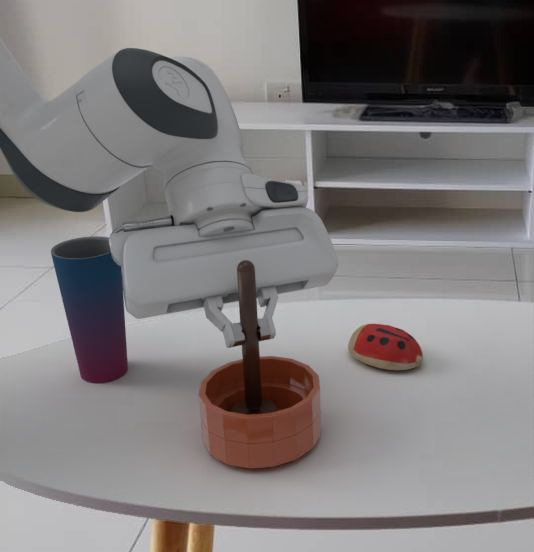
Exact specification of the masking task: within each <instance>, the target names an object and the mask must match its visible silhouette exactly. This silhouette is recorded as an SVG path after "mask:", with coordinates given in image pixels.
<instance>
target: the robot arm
mask: <svg viewBox="0 0 534 552" xmlns="http://www.w3.org/2000/svg"><path fill="white" fill-rule="evenodd" d="M242 135H243V134H242V132H241V129H240V125H239V123H238V119H237V116H236V114H235V110H234V107H233V106H232V103H231V101H230V98H229V96H228V93H227V92H226V90H225V87H224V86H223V84H222V82H221V80H220V79H219V77H218V75H217V73H215V71H214V70H213V69H212V68H211V66H209V65H208V64H207V63H205V62H203V61H201V60H199V59H196V58H193V57H189V56H171V57H168V56H165V55H163V54H161V53H157V52H155V51H152V50H147V49H143V48H138V47H137V48H136V47H125V48H121V49H120V50H119V51H117V52H116V53H113V54H112V55H110V56H108V58H106V59H104V60H103V61H102V62H100V63H99V64H98V65H96V66H95V67H93V68H92V69H90V70H89V71H87V72H86V73H85V74H84V75H82V77H80V78H79V80H78V81H76V82H75V83H74V84H72V85H71V86H69V87H67V88H66V89H65V90H63V92H61V93H60V94H58V95H57V96H56V97H55V98H53V99H51V100H50V101H49V100H48V99H45V98H44V97H43V96H42V95H41V94H40V93H39V91H38V90H37V88H36V87H35V85H34V84H33V82H32V81H31V80H30V78H29V77H28V75H27V74H26V73H25V71H24V70H23V68H22V67H21V65H20V63H19V62H18V61H17V59H16V58H15V56H14V55H13V53H12V52H11V51H10V50H9V48H8V45H6V43H5V42H4V41H3V39H2V38H1V37H0V151H1V153H2V155H3V157H4V159H5V161H6V162H7V165H8V167H9V168H10V171H11V173H12V174H13V176H14V177H15V179H16V180H17V182H18V183H19V185H20V186H21V187H22V188H23V189H24V191H26V192H27V193H28V195H30V196H31V197H33V198H34V199H35V200H36V201H38V202H41V203H43V204H44V205H47V206H49V207H52V208H55V209H58V210H62V211H67V212H72V213H73V212H74V213H85V212H89V211H92V210H94V209H95V208H97V207H98V206H99V205H100V204H102V203H103V202H104V201H105V200H107V199H108V198H109V197H111V195H112V194H114V193H115V192H116V191H118V190H119V189H120V188H121V187H122V185H124V184H126V183H127V182H129V181H130V180H132V179H133V178H135V177H137V176H138V175H140V174H142V173H143V172H145V171H146V170H148V169H149V168H153V169H157V170H159V171H161V172H162V173H163V193H164V197H165V201H166V205H167V209H168V210H167V211H168V214H169V215H168V216H167V215H166V216H159V217H153V218H149V219H143V220H128V221H124V222H122V225H121V226H119V227H117V228H115V229H114V230H113V231H112V232H111V233H110V234H109V246H110V251H111V255H112V258H113V260H114V261H115V262H116V263H117V264H118V265H119V266H121V267H122V283H123V298H124V308H125V310H126V312H127V313H128V314H130V315H131V316H132V317H133V318H135V319H137V320H139V319H147V318H152V317H157V316H164V315H169V314H175V313H180V312H186V311H191V310H198V309H203V310H204V314H205V316H206V317H205V318H206V319H207V320H208V321H209V322H210V323H211V324H212V325H213V326H214V327H216V328H217V329H218V330H219V331H220V332H222V335H223V339H224V342H225V343H224V344H225V346H226V348H227V349H231V348H235V347H239V346H242V345H243V343H244V342H245V336H244V333H243V332H242V329H243V328H242V325H241V322H240V321H239V322H234V323H233V322H232V321H231V320H230V319H229V318H228V317H227V316H226V315H225V313H224V312H223V309H224V306H225V304H231V303H237V302H239V296H238V280H237V266H238V264H239V263H240V262H241V261H244V260H248V261H251V262H252V263H253V264H254V266H255V278H256V297H257V303H258V305H259V307H260V308H264V307H265V309H264V313H263V316H262V317H261V318H258V334H259V342H265V341H267V340H268V341H270V340H273V339H275V337H276V336H277V331H276V327H275V323H274V320H273V316H274V315H275V314H274V313H275V310H276V306H277V302H278V300H279V295H282V294H287V293H293V292H298V291H299V292H300V291H305V290H310V289H316V288H322V287H326V286H328V284H329V283H330V282H331V281H332V280H333V278H334V277H335V275H336V273H337V271H338V268H339V259H338V256H337V253H336V250H335V246H334V245H333V242H332V239H331V236H330V235H329V232H328V230H327V228H326V226H325V224H324V222H323V220H322V219H321V217H320V216H319V215H318V213H316V212H315V211H314V210H312V209H311V208H308V207H307V205H308V202H309V192H308V190H307V188H306V186H304V185H303V184H301V183H296V182H290V181H284V180H280V179H279V180H278V179H274V178H270V177H265V176H260V175H257V174H254V173H253V170H252V168H251V166H250V164H249V162H247V160H246V158H245V155H244V153H243V145H244V141H243V136H242Z"/></svg>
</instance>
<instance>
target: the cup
mask: <svg viewBox="0 0 534 552" xmlns="http://www.w3.org/2000/svg"><path fill="white" fill-rule="evenodd" d="M109 238H110V236H98V235H95V236H92V235H91V236H82V237H76V238H71V239H67V240H64V241H61V242H59V243H57V244H55V245H53V247H52V248H51V249H50V255H51V259H52V263H53V267H54V271H55V275H56V280H57V284H58V287H59V292H60V295H61V301H62V304H63V309H64V313H65V316H66V321H67V325H68V329H69V334H70V338H71V342H72V346H73V349H74V354H75V358H76V363H77V367H78V370H79V374H80V378H81V379H82V380H83V381H85V382H87V383H91V384H102V383H108V382H112V381H115V380H117V379H119V378H122V377H123V376H124V375H125V374H126V373H127V372H128V370H129V364H128V363H129V362H128V349H127V332H126V316H125V301H124V294H123V283H122V267H121V266H119V265H118V264H117V263H116V262H115V261H114V260H113V258H112V255H111V251H110V246H109Z"/></svg>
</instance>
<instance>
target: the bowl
mask: <svg viewBox="0 0 534 552" xmlns="http://www.w3.org/2000/svg"><path fill="white" fill-rule="evenodd" d="M260 372H261V390H262V399H267V400H270V401H272V402H273V403H274V404H275V405H276V407H277V411H276V412H273V413H265V414H250V415H246V414H240V413H234V412H231V411H232V408H233V407H234V406H235V405H236V404H237V403H239V402H241V401H244V400H245V390H244V374H243V359H242V358H241V359H237V360H233V361H229V362H227V363H225V364H222V365H221V366H219V367H217V368H215V369H213V370H211V371H210V372H209V373H208V374H207V375H206V376H205V377H204V378H203V379H202V381H200V385H199V389H198V390H199V391H198V403H199V412H200V423H201V434H202V435H201V436H202V442H203V443H202V444H203V445H204V446H205V448H206V450H207V451H208V453H209V455H210V456H211V457H213V458H215V459H217V460H218V461H221V462H222V463H224V464H226V465H228V466H232V467H233V466H234V467H239V468H245V469H264V468H272V467H273V468H275V467H277V466H280V465H283V464H287V463H289V462H293V461H296V460H297V459H300V457H302V456H304V455H305V454H306V453H308V452H309V451H310V450H312V449H313V448H314V447H315V445H316V444H317V442H318V440H319V439H320V437H321V435H322V420H321V418H322V416H321V415H322V413H321V385H320V384H321V383H320V376H319V374H318V373H317V372H316V371H315V370H314V369H313V368H312V367H311V366H310V365H309V364H306V363H304V362H301V361H300V360H297V359H294V358H289V357H283V356H275V355H267V356H266V355H265V356H264V355H263V356H260Z"/></svg>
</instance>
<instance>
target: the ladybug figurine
mask: <svg viewBox="0 0 534 552" xmlns="http://www.w3.org/2000/svg"><path fill="white" fill-rule="evenodd" d="M347 350H348V353H349V354H350V355H351V356H352V357H353V358H354V359H356V360H357V361H359V362H360V363H363V364H366V365H368V366H370V367H374V368H378V369H381V370H387V371H406V370H411V369H414V368H417V367H418V366H419V365H421V364H422V362H423V360H424V353H423V351H422V347H421V346H420V344H419V342H418V341H417V340H416V338H414V336H413V335H411V334H410V333H408V332H407V331H405V330H404V329H402V328H398V327H395V326H393V325H388V324H382V323H365V324H362V325H360V326H359V327H358V328H356V329H355V330H354V331H353V333H352V334H351V336H350V337H349V340H348V343H347Z"/></svg>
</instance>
